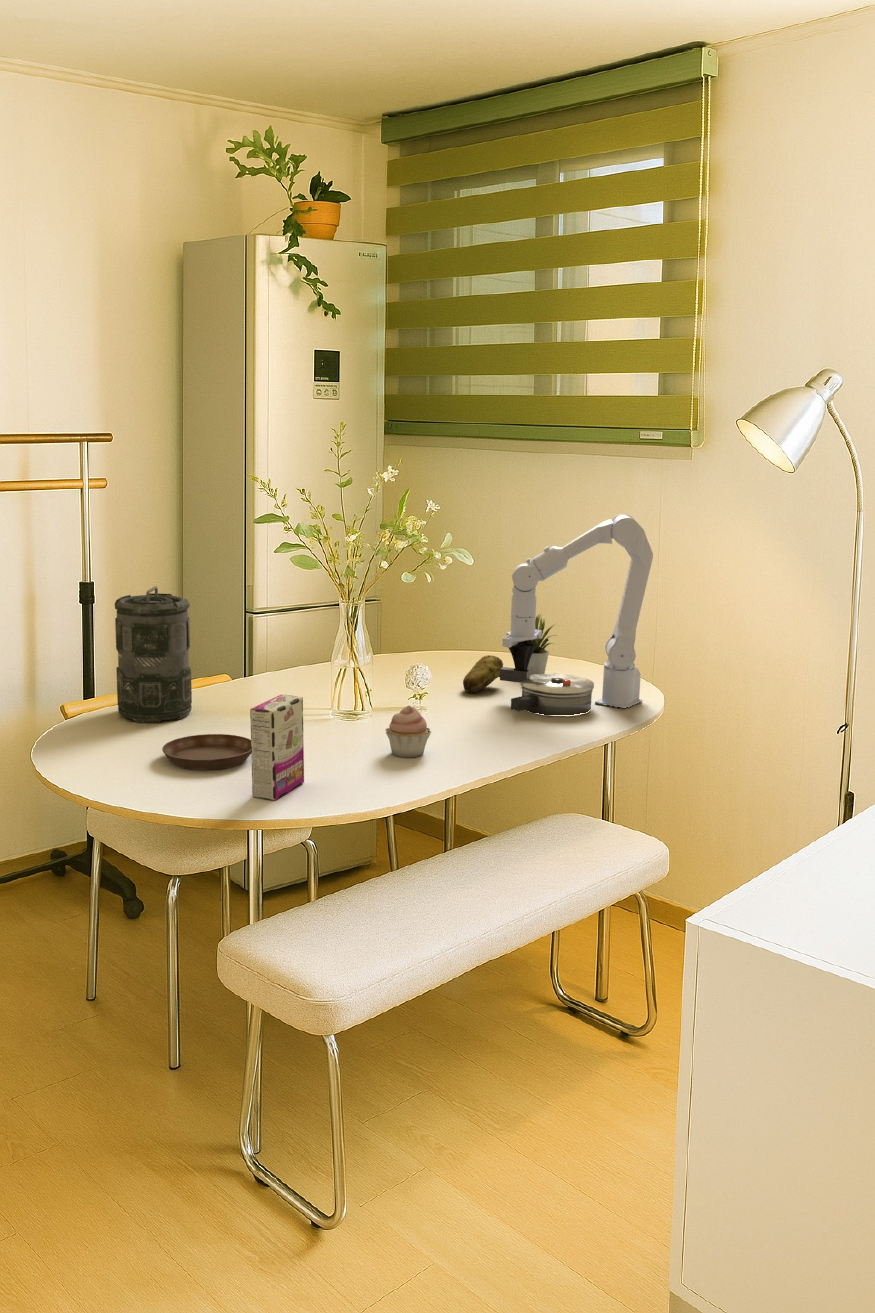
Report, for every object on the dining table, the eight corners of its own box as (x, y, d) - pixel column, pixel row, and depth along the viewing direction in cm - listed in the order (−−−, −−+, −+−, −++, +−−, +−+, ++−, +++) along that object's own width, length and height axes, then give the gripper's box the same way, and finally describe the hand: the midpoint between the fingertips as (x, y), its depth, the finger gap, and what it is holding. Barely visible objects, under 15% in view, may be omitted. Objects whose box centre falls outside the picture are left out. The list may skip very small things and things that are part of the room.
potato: (449, 689, 291) (450, 657, 290) (490, 682, 299) (492, 651, 297) (470, 696, 285) (471, 663, 283) (512, 689, 292) (513, 658, 291)
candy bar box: (280, 779, 220) (280, 693, 217) (304, 783, 219) (304, 696, 215) (249, 797, 210) (248, 707, 207) (274, 801, 209) (274, 711, 205)
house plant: (498, 667, 316) (500, 606, 312) (549, 666, 318) (551, 606, 315) (511, 680, 302) (513, 616, 299) (564, 679, 305) (567, 616, 301)
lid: (601, 681, 280) (602, 670, 279) (583, 697, 265) (584, 685, 264) (512, 672, 288) (512, 661, 287) (489, 686, 272) (490, 675, 272)
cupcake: (380, 759, 234) (381, 709, 232) (388, 745, 243) (389, 698, 241) (427, 762, 233) (428, 712, 231) (434, 748, 242) (435, 700, 240)
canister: (184, 724, 255) (181, 595, 249) (109, 723, 255) (105, 593, 249) (198, 705, 270) (195, 583, 264) (128, 704, 270) (124, 581, 264)
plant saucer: (144, 759, 231) (143, 744, 230) (218, 742, 244) (218, 727, 243) (199, 781, 219) (199, 765, 219) (274, 761, 232) (274, 746, 232)
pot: (552, 695, 288) (553, 675, 287) (605, 709, 276) (607, 688, 275) (488, 710, 272) (488, 689, 271) (541, 725, 261) (542, 703, 260)
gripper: (524, 609, 286) (522, 664, 289) (492, 617, 275) (490, 675, 278) (550, 613, 283) (547, 669, 285) (518, 621, 271) (516, 679, 274)
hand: (520, 672), depth 281 cm, fingers closed
